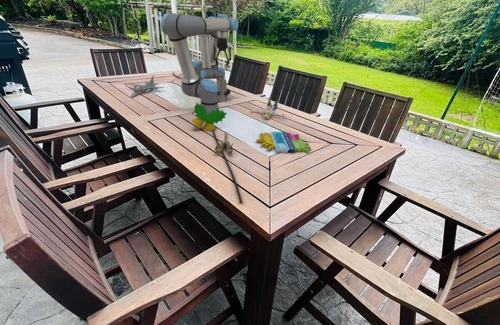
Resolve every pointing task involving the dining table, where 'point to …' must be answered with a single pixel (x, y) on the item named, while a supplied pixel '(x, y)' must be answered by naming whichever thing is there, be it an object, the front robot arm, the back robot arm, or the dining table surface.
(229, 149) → the jawbone
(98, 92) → the dining table surface
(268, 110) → the toy
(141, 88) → the airplane
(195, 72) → the back robot arm
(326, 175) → the dining table surface
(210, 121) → the ornament
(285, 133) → the sign
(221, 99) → the bottle
